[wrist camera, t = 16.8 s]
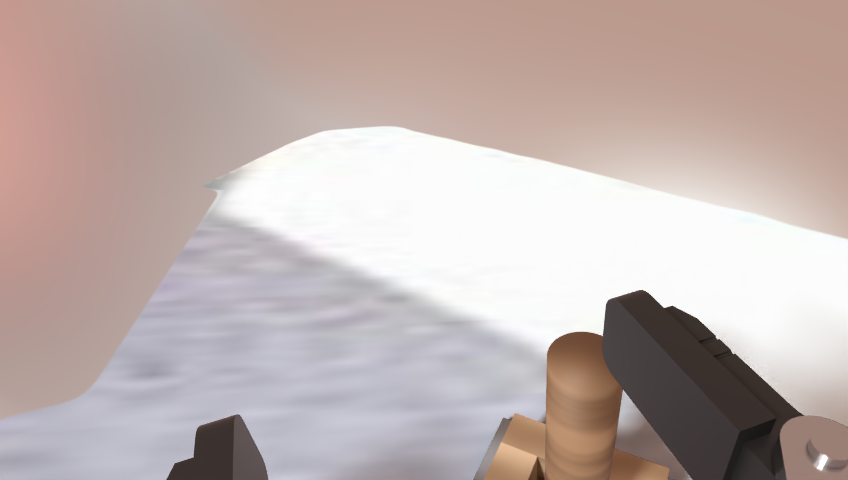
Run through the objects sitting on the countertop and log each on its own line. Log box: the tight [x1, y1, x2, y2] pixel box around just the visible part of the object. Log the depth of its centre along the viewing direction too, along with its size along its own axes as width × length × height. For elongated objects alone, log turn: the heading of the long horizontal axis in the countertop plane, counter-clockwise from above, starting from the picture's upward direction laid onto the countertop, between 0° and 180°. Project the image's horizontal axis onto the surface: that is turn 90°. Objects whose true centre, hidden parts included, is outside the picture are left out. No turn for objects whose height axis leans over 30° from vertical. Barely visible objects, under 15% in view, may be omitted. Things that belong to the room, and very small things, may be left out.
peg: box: [545, 332, 623, 480], centre depth 33 cm, size 4×4×20 cm
